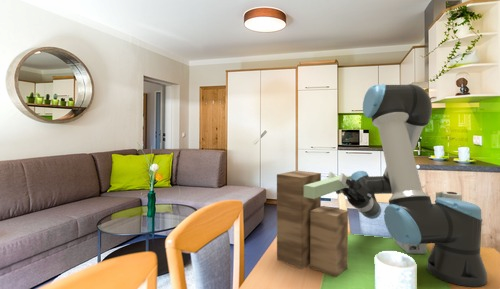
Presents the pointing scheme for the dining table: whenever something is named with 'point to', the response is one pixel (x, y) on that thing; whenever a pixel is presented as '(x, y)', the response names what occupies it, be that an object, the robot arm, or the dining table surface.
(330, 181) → the sage bar
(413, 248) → the light bulb box
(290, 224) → the walnut stand
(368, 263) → the dining table surface
